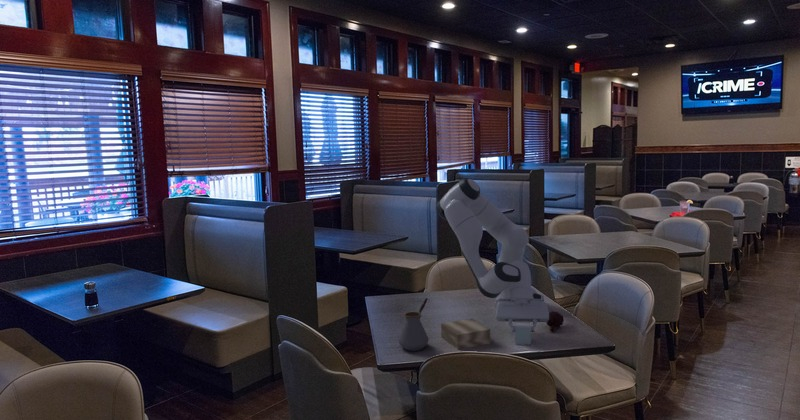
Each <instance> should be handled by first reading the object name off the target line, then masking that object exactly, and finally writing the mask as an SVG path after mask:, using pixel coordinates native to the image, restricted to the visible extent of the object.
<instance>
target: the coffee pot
mask: <svg viewBox="0 0 800 420" xmlns="http://www.w3.org/2000/svg"><path fill="white" fill-rule="evenodd" d="M430 301H431V300H430V298H427V297H425V299H424V301H423V303H422V304H421V306H420V308H419V310H418V312H417V311H410V312H409V311H408V312H405V313H404V317H405V321H404V324H403V327H402V329H401V332H400V335H399V338H398V344H399V345H400V347H402V348H403V349H404V350H406V351H409V352H415V351H421V350H423V349H424V347H426V346H427V345H428V343H429V340H430V339H429V337H428V334H427V333H426V330H425V328H424V326H423V323H422V322H421V318H422V317H423V316H422V311H423V310H424V308H425V306H426V304H427V302H428V303H429V302H430Z"/></svg>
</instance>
